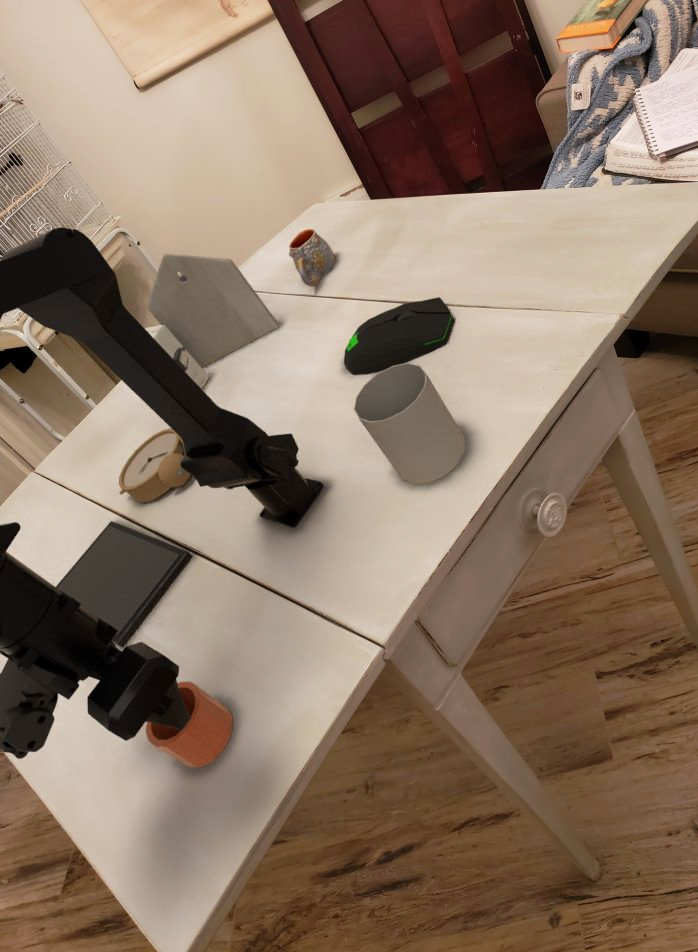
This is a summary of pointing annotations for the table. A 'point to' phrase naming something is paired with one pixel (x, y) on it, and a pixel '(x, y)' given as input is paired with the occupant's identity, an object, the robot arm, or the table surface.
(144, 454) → the alarm clock
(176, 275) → the grey house-shaped block
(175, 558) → the tablet
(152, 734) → the pen pot
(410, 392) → the cup
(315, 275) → the mug
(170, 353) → the ink box
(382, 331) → the computer mouse
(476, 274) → the table surface
